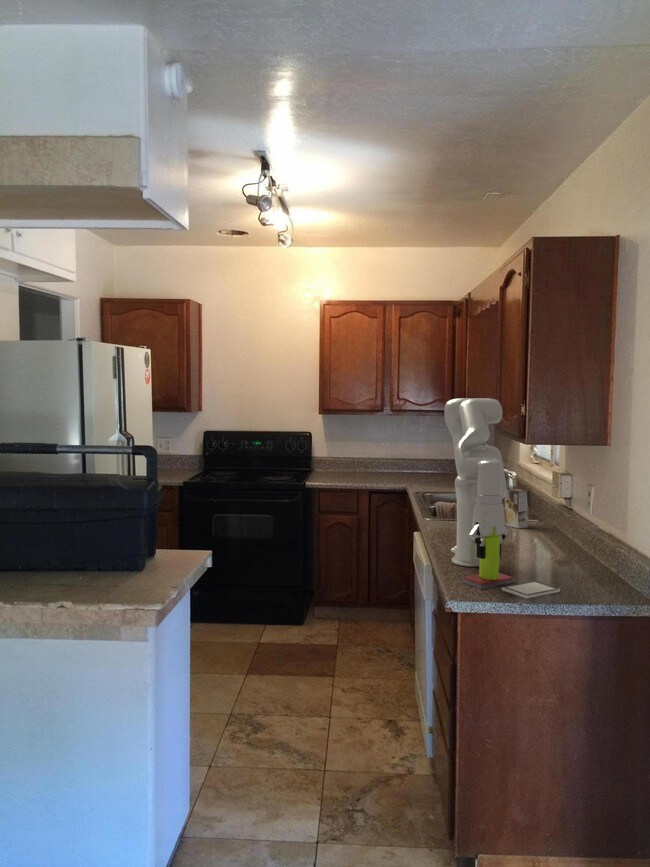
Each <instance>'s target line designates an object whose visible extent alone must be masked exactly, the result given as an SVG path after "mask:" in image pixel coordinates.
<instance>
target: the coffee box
mask: <svg viewBox="0 0 650 867" xmlns="http://www.w3.org/2000/svg"><path fill="white" fill-rule="evenodd" d="M529 502H530V491H529V490H525V489H519V488H506V495H505V497H504V514H505V526H507V527H512V528H515V529H523V528H529V512H530V511H529V510H530V509H529V507H530V506H529V504H530V503H529Z"/></svg>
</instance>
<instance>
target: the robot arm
mask: <svg viewBox="0 0 650 867" xmlns="http://www.w3.org/2000/svg"><path fill="white" fill-rule="evenodd" d="M502 418H503V407H502V405H501V403H500V402H499V400H498V399H496V398H495V399H494V398H488V397H487V398H482V397H481V398H473V397H471V398H468V397H467V398H465V397H462V398H453V399H450V400H448V401H447V402H446V404H445V406H444V420H445V424H446V426H447V429H448V432H449V433H450V435H451V437H452V438H451V439H452V442H453V450H454V462H455V468H456V473H457V476H456V478H455V480H454V492H455V498H456V545H455V546H454V547H452V548H451V549H450V551H451V553H454V556H453V557H452V558H451V562H452V563H453V564H455V565H458V566H464V567H471V568H472V567H480V558H481V559H485V546H483V545H484V542H485V538H486V537H489V536H491V535H492V531H493V526H496V536H500V554H499V558H500V557H502V544H503V543H504V541H505V538H506V536H507V535H508V533H509V529H508V527H506V525H505V506H504V504H503V500H504V499H505V495H506V489H507V481H506V474H505V469H504V463H503V458H502V454H501V451H500V450H499V448H497V447H496V446H492V445H483V444H486V442H487V441H488V440H489V438H490V435H491V434H490V429H489V424H499V423H500V422H501V421H502ZM495 516H496V518H495Z"/></svg>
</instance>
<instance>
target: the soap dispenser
mask: <svg viewBox="0 0 650 867" xmlns="http://www.w3.org/2000/svg"><path fill="white" fill-rule="evenodd" d="M495 518H496V516H495ZM483 546H485V559H481V558H480V566H479V570H478V571H479V572H478V574H479V577H480V578H482V579H487V580H496V579H498V575H499V573H500V571H499V570H500V557H499V554H500V536H496V526H493V531H492V535H491V536H489V537H486V538H485V542H484V545H483Z"/></svg>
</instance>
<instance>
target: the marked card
mask: <svg viewBox="0 0 650 867" xmlns="http://www.w3.org/2000/svg"><path fill="white" fill-rule="evenodd" d="M501 590H502V591H503V592H507V593H510V594H512V595H515V596H518V597H521V598H523V599H526V600H527V599H531V598H537V597H540V596H546V595H550V594H556V593H561V588H559V587H556V586H552V585H549V584H545V583H543V582H540V581H538V580H530V581H525V582H521V583H520V582H519V583H513V584H508V585H503V586H501Z"/></svg>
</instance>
